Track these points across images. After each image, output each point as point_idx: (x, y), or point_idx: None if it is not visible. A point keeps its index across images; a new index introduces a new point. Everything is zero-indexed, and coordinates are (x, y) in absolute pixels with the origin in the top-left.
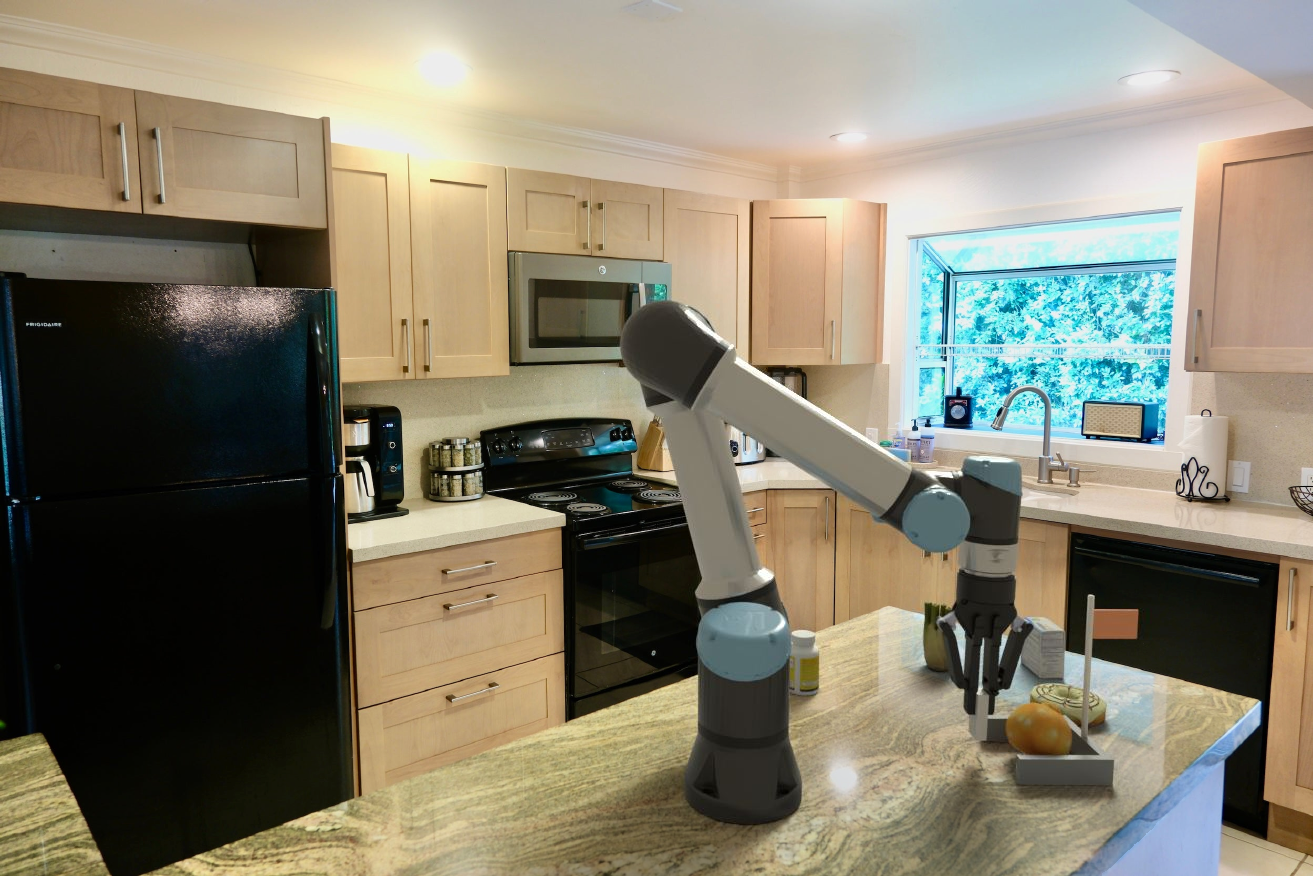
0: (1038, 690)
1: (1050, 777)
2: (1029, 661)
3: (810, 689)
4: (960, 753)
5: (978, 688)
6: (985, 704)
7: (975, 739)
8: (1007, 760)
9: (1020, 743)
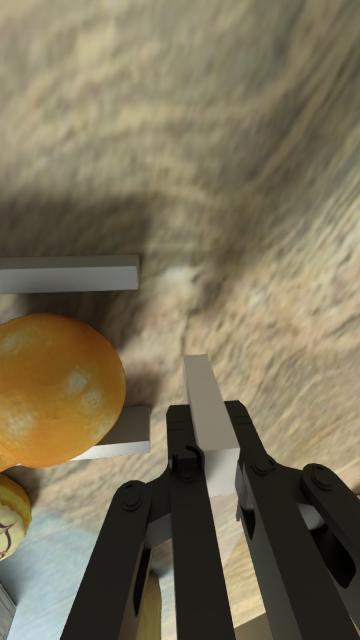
0: (6, 544)
1: (67, 259)
2: (2, 613)
3: None
4: None
5: (213, 489)
6: (205, 421)
7: (207, 355)
8: (129, 347)
9: (108, 344)
